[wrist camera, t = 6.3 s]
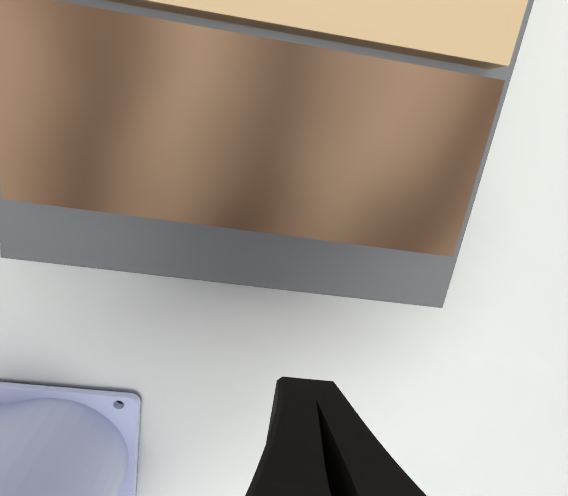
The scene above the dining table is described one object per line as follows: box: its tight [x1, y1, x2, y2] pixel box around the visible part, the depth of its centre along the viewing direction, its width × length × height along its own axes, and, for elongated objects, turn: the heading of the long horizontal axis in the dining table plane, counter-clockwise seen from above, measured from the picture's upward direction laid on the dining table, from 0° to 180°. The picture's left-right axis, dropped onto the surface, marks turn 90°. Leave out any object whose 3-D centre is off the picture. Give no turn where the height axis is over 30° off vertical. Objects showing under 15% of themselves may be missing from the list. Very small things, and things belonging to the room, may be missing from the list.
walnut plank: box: [0, 0, 505, 257], centre depth 16 cm, size 18×7×1 cm, turn 81°
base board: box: [0, 0, 534, 308], centre depth 16 cm, size 20×18×2 cm
